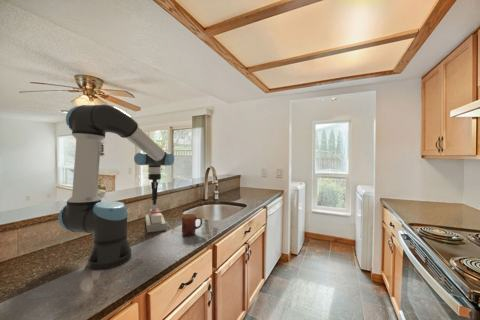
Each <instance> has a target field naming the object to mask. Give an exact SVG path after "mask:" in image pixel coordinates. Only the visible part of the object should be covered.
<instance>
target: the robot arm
mask: <svg viewBox="0 0 480 320" xmlns="http://www.w3.org/2000/svg"><path fill="white" fill-rule="evenodd" d="M65 124H66V125H67V126H68V128H69V130H70V131H71V136H72V137H74V138H75V151H74V152H75V153H74V166H73V167H74V168H73V179H72V180H73V181H72V191H71V196H70V197H68V199H67V200H66V204H65V205H64V206H63V207H62V208H61V210H60V211H59V213H58V217H57V218H58V224H59V225H60V227H61V228H62V229H64V230H65V231H70V232H72V233H82V234H83V233H84V234H91V235H93V238H92V239H93V241H92V242H93V244H92V247H91V250H90V252H89V254H88V257H87V267H88V268H89V269H91V270H96V271H97V270H106V269H112V268H116V267H118V266H121V265H123V264H125V263H127V262H128V261H129V260H131V258H132V249H131V246H130V243H129V241H128V207H127V204H125V203H124V202H122V201H121V202H120V201H116V200H112V201H111V200H110V201H109V200H105V201H102V198H101V197H100V196H98V193H99V192H98V191H99V189H98V188H99V176H100V174H99V173H100V161H101V158H100V157H101V142H102V141H103V140H105V138H106V133H113V134H116V135H117V136H119V137H121V138H123V139H126V140H128V141H129V142H131V143H132V144H133V145H134V146H135V147H136V148H138V149H140V150H141V151H142V152H137V153H135V155H134V157H133V161H134V163H135V164H136V165H138V166H148V168H147V169H148V170H147V171H148V180H150V181H151V182H150V186H151V199H150V200H151V209H152V210H155V209H157V207H158V205H157V202H158V201H157V200H158V188H159V182H158V180H161V179H162V178H161V177H162V174H161V173H162V171H161V170H163V168H162V166H164V167H165V166H166V167H167V166H172V165H173V164H174V161H175V156H174V153H172V152H166V151H165V150H164V149H162V147H161V146H159V144H157V143H156V142H155V141H154V140H153V139H152V138H151V137H150V136H149V135H148V134H147V133H146V132H145V131H143V129H142V128H140V126H139V124H138V122H137V121H136V120H135V119H134V118H133V117H132V116H131V115H129V114H128V113H127V112H125V111H124V110H122V109H120V108H118V107H116V106H113V105H109V104H91V105H89V104H81V105H78V106H73V107H72V108H70V109H69V110H68V112H67V113H66V115H65Z"/></svg>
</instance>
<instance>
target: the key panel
mask: <svg viewBox="0 0 480 320" xmlns="http://www.w3.org/2000/svg"><path fill="white" fill-rule="evenodd" d="M160 213H161V212H160ZM145 226H146V233H154V232H160V231H167V222H166V219H165V218H164V215H163V213H161V223H156V224H152V222H151V217H150V214H146V215H145Z"/></svg>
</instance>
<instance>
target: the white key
mask: <svg viewBox="0 0 480 320" xmlns="http://www.w3.org/2000/svg"><path fill="white" fill-rule="evenodd" d="M151 222H152V224H156V223H161V212H160V213H156V214H151Z"/></svg>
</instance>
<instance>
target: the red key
mask: <svg viewBox="0 0 480 320" xmlns="http://www.w3.org/2000/svg"><path fill="white" fill-rule="evenodd" d="M156 213H161V210H160V209H158V210H151V214H156Z"/></svg>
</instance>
